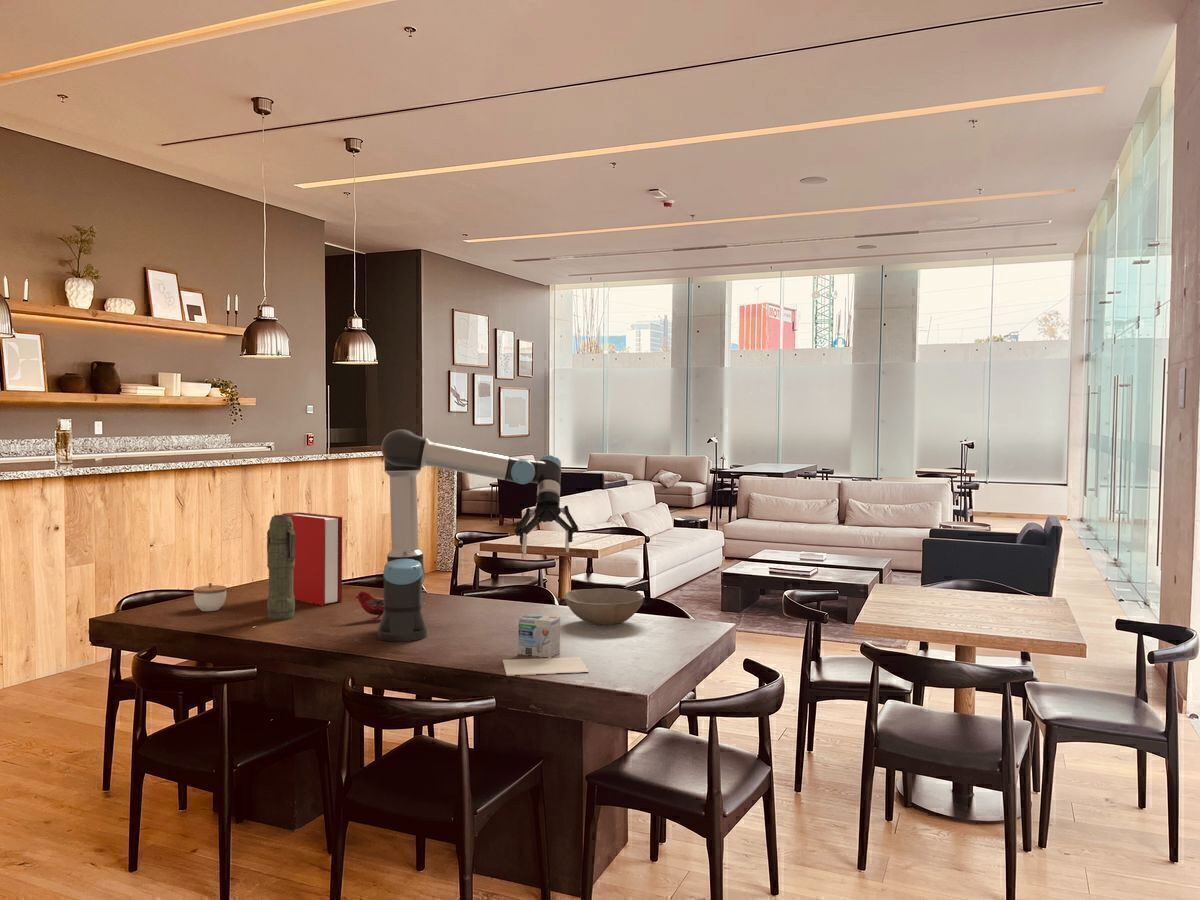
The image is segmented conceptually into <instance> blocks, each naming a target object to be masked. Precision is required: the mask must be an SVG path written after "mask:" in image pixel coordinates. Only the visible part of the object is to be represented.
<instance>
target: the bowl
mask: <svg viewBox="0 0 1200 900" xmlns="http://www.w3.org/2000/svg"><path fill="white" fill-rule="evenodd" d="M564 599H565V601H566V602H565V603H566V605H567V606H568V607H569V610H570V611H571V612H572V614H574V615H575V616H576V617H577V618H579V619H580V620H582V621H584V622H586V623H589V624H591V625H595V626H605V627H606V625H607V626H614V625H619V624H622V623H624V622H627V621H628V620H629V619H630V618H632V616H634V615H635V614H636V613H637V612H638V611H639V609H640V608H641V607H642V605H643V603H644V599H645V598H644V595H643V594H641V593H640V592H638V591H631V590H628V589H621V588H613V587H603V588H602V587H601V588H599V587H598V588H586V589H573V590H570V591H567V592H565V594H564Z"/></svg>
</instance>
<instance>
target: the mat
mask: <svg viewBox="0 0 1200 900" xmlns="http://www.w3.org/2000/svg"><path fill="white" fill-rule="evenodd" d="M502 664H503V667H504V671H505V675H506V677H512V676H513V677H515V675H520V676H537V675H536V674H547V675H557V674H556V673H574V674H579V673H578V672H590V671H589V670H588V668H587V666H586V665H585V663H584V661H583V659H582V658H581V657H579V656H577V657H551V658H543V657H542V658H522V659H521V658H520V659H518V658H514V659H502Z"/></svg>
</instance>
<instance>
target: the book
mask: <svg viewBox="0 0 1200 900" xmlns="http://www.w3.org/2000/svg"><path fill="white" fill-rule="evenodd" d="M281 515H289V516H291V519H292V522H293V530H294V532H295V534H296V544H295V566H294V568H293V594H294V597H295V599H296V600H295V601H298V600H301V601H300V602H303V601H306V602H305V603H308V602H311V603H310V604H313V603H315V604H314V605H317V604H319V605H318V606H322V605H324V606H325V604H330V603H331V604H332V603H337V602H338V603H342V602H343V600H342V599H343V596H342V594H343V516H336V515H329V514H317V513H307V512H299V511H297V512H287V513H285V512H283V513H282V514H281Z"/></svg>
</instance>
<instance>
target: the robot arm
mask: <svg viewBox="0 0 1200 900" xmlns="http://www.w3.org/2000/svg"><path fill="white" fill-rule="evenodd" d="M380 448H381V453H382V456H383V458H384V459H383V460H384V472H385V473H386V475H388V477H389V498H390V499H389V500H390V501H389V502H390V531H391V532H390V533H391V534H390V535H391V539H390V540H391V549H390V551H389V552H388V553H387V555H386V560H387V561H386V563H385V565H384V566H383V573H382V575H383V599H384V613H383V614H382V615H381V617H382V618H381V619H380V622H379V626H378V629H377V638H378V639H379V640H382V641H386V642H411V641H412V642H413V641H417V640H421V639H424V638H426V637H427V636H428V627H427V624H426V620H425V617H424V615H423V610H422V608H423V607H422V606H423V605H422V599H423V597H422V596H423V591H422V590H423V584H424V582H425V578H426V570H425V567H424V564H425V563H424V552H423V551H422V550H421V549H420V548H419V521H418V518H419V517H418V489H417V488H418V487H417V486H418V485H417V483H418V482H417V475H418V474H419V473H420V472H421V471H422V468H424V467H426V466H427V467H433V468H437V469H443V470H448V471H454V472H459V473H464V474H469V475H474V476H480V477H481V476H482V477H486V478H491V479H497V480H503V481H508V482H513V483H516V484H519V485H527V484H529V483H532V484H537V490H536V506H535V509H531V508H530V507H526V510H525V513H524V515H523V517H522V518H521V519H520V520H519V523H518V525H517V526H516V527H515V528H514V533H515V536H516V537H519V544H520V545H521V546H522V547H521V551H522V555H523V556H527V545H528V534H529V533H531V531H532V530H533V529H534V528H536V526H537V525H539V524H541V522H542V523H546V522H548V523H549V522H551V523H552V522H553V521H554V522H555V523H557V524H559V526H560V527H561V528H562V529H564V531H565V542H564V550H565V552H566V553H569V552H570V543H573V535H574V534H575V533H577V534H578V533H579V527H578V525H577V523H576V522H575V520H574V518H573V516H572V515H571V513H570V509H569V506H568V505H565V506H564V507H560V500H561V497H560V496H561V480H562V479H561V478H562V463H561V460H560V459H559V458H558V457H557V455H552V454H548V455H543V456H541V458H540V459H539V460H533V459H532V460H531V459H528V458H527V459H526V458H521V457H514V456H513V457H510V456H505V455H501V454H497V453H495V454H494V453H491V452H484V451H479V450H476V449H475V450H474V449H469V448H463V447H458V446H453V445H449V444H443V443H438V442H433V441H430V439H429V438H428V437H425V436H424V437H423V436H419V435H417V434H416V433H415V432H413V431H411V430H409V429H402V428H401V429H396V430H393V431H390V432H389V433H387V434H386V435H385V436H384V438H383V440H382V443H381V445H380ZM561 513H562V514H563V515H564V516H565V518H566V519H567V521H568V522H569V524H570V525H569V524H568V523H567V521H565V520H564V519H563V518H562V517H561V516H560V514H561ZM533 515H534V516H533ZM532 517H533V518H532ZM531 518H532V519H531Z"/></svg>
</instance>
